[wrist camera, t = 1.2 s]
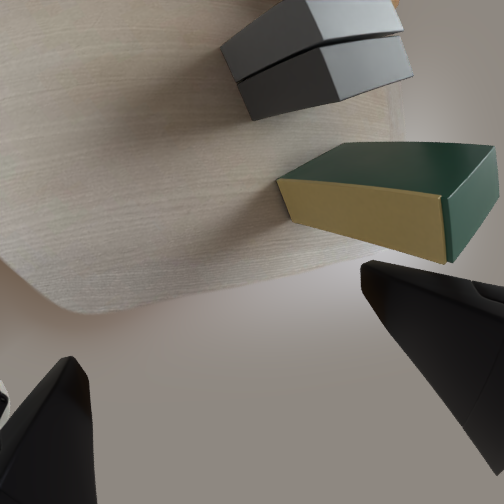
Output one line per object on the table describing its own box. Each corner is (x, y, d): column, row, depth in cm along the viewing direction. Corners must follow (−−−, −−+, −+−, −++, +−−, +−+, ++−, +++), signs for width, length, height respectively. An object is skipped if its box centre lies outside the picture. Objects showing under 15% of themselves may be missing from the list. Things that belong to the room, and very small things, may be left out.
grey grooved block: (252, 121, 22) (347, 100, 13) (219, 47, 19) (299, -11, 11) (327, 92, 24) (420, 75, 16) (300, 28, 21) (387, -9, 13)
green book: (289, 221, 25) (450, 267, 13) (273, 180, 23) (445, 199, 12) (355, 178, 28) (499, 197, 16) (344, 142, 26) (494, 145, 14)
